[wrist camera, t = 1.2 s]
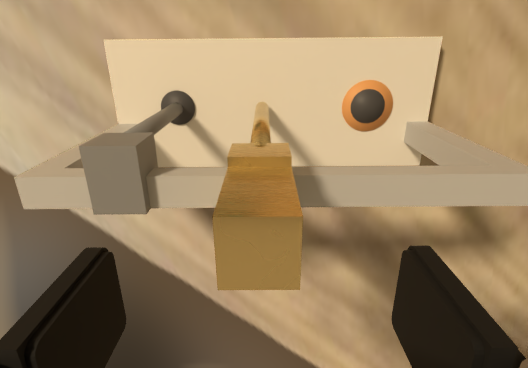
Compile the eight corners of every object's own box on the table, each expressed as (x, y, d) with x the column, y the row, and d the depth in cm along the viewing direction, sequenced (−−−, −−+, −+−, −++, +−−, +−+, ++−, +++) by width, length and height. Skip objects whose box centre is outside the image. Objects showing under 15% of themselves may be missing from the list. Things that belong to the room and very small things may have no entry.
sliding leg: (245, 101, 31) (210, 200, 11) (278, 101, 31) (303, 200, 11) (246, 144, 32) (218, 301, 12) (277, 144, 32) (299, 300, 12)
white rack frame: (110, 40, 31) (-45, 31, 15) (434, 37, 31) (608, 25, 15) (131, 162, 35) (27, 252, 20) (413, 160, 35) (530, 249, 20)
